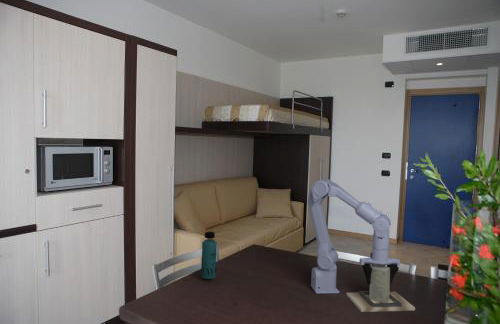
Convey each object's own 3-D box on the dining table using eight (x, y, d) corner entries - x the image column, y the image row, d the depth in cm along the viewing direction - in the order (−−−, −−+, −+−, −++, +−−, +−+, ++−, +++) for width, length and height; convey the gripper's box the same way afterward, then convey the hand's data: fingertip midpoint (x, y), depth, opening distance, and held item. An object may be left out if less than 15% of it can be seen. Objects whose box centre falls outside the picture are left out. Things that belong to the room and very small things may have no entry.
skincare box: (389, 300, 124) (391, 267, 124) (385, 304, 121) (387, 270, 121) (372, 295, 128) (374, 263, 128) (368, 298, 125) (369, 266, 125)
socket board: (361, 311, 117) (361, 306, 117) (346, 295, 130) (346, 290, 130) (415, 310, 119) (415, 304, 119) (395, 294, 132) (395, 289, 132)
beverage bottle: (197, 280, 140) (198, 233, 139) (205, 275, 146) (206, 229, 145) (211, 283, 137) (212, 235, 136) (219, 277, 143) (220, 231, 142)
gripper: (394, 244, 129) (393, 279, 130) (357, 244, 128) (355, 279, 129) (403, 250, 122) (401, 287, 123) (364, 249, 121) (362, 286, 122)
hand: (378, 283), depth 125 cm, fingers open, 7 cm apart
